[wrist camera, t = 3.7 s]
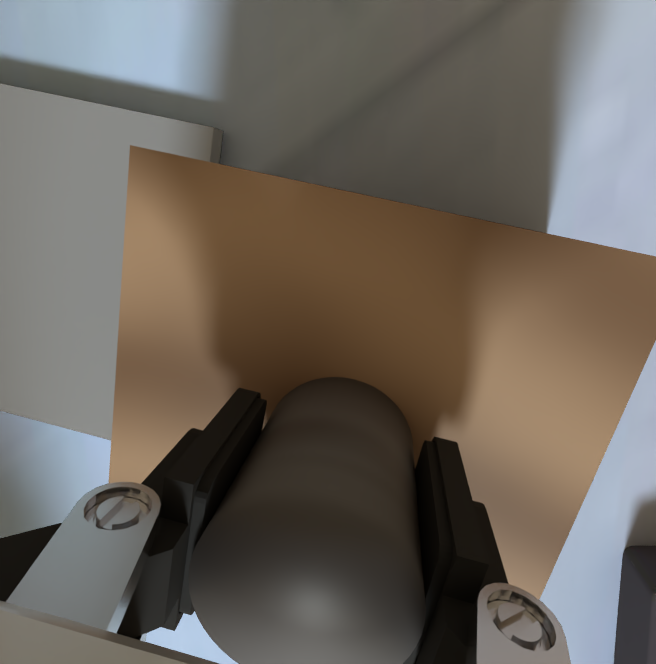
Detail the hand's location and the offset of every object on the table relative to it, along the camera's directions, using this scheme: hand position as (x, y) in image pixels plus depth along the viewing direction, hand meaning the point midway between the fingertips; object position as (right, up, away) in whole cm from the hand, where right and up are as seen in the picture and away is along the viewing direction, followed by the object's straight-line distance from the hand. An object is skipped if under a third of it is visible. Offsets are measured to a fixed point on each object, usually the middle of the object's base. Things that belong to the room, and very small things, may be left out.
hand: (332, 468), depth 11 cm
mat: (-13, +6, +10) cm, 18 cm away
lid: (0, +1, +3) cm, 3 cm away
